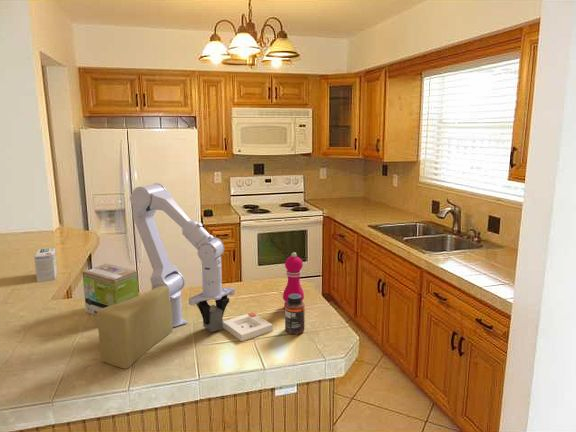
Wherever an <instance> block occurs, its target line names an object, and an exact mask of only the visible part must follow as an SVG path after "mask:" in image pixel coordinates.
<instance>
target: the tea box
mask: <svg viewBox="0 0 576 432" xmlns="http://www.w3.org/2000/svg"><path fill="white" fill-rule="evenodd" d="M81 274H82V281H83V292H84V302H85V311H86V313H89V314H92V315H95V316H97V311H98V310H100V309H102V308H105V307H108V306H111V305H114V304H118V303H121V302H124V301H127V300H129V299H132V298H134V297H137V296H139V295H140V294H139V280H138V279H139V278H138V271H137V270H135V269H131V268H130V269H129V268H127V267H126V268H125V267H122V266H118V265H114V264H109V263H104V264H101V265H99V266H96V267H93V268H91V269H87V270H84V271H82V273H81Z"/></svg>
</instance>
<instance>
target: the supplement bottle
mask: <svg viewBox="0 0 576 432" xmlns="http://www.w3.org/2000/svg"><path fill="white" fill-rule="evenodd" d="M305 308H306V307H305V303H304V302H303V301H301V295H299V294H290V295H289V296H288V301H287V302H286V304H285V308H284V313H285V314H284V318H285V319H284V325H285V326H284V328H285V329H284V330H285V332H286V333H288V334H290V335H298V334H302V333H303V332H304V331H305V324H306V323H305V321H306V320H305V313H306V312H305Z"/></svg>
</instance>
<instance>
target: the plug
mask: <svg viewBox="0 0 576 432" xmlns="http://www.w3.org/2000/svg"><path fill="white" fill-rule="evenodd" d="M223 317H224V314H223V315H222V310H221V309H220V308H218V307H217V306H216V304H210V310H209V325H206V324H205V323H204V321H203V320H202V326H203V327H204V328H205V329H206V330H207V331H209V332H210V333H214V332H217V331H219V330H222V329H224V328H223V321H224V320H223Z"/></svg>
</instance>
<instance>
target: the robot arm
mask: <svg viewBox="0 0 576 432" xmlns="http://www.w3.org/2000/svg"><path fill="white" fill-rule="evenodd" d="M171 194H172V193H171V192H170V191H169V190H168V189H166V187H165V186H164V185H163V184H162V183H159V182H158V183H157V182H156V183H153V184H148V185H143V186H137V187H135V188H134V189H133V190H132V192H131V194H130V196H129V200H130V203H131V206H132V218H133V220H134V224H135V226H136V229H137V231H138V234H139V236H140V237H139V238H141V239H140V240H141V241H142V244H143V247H144V250H145V252H146V254H147V258H148V260H149V263H150V266H151V268H152V270H153V271H152V273H151V275H150V278H149V280H150V282H151V290H152V289H154V288H157V287H160V286H165V287H168V289H169V295H170V302H171V310H172V329H173V328H175V327H179V326H182V325H185V324H188V321H187V320H186V319H185V318H184V317H183V313H182V312H183V311H182V310H183V309H182V289H183V288H184V287H185V284H186V281H185V277H184V276H183V274H182V273H181V272H180V271H179V269H178V266H177V265H174V264H172V263H171V261H170V258H169V255H168V253H167V250H166V247H165V245H164V242H163V240H162V237H161V234H160V231H159V230H158V227H157V223H156V222H155V218H154V216H155V213H156V212H157V211H162V212H164V213H165V214H166V215H167V216H168V217H170V219H171V220H172V221H174V222H175V223H176V224H177V225H178V226H180V228H181V229H182V230H181V231H182V232H181V234H182V235H183V236H184V237H185V239H187V241H188V242H189V243H190V244H191V245H192V246H193V247H194V248H195V249H196V250H197V256H198V259H200V263H201V280H202V285H201V286H202V288H201V289H202V292H200V293H198V294H196V295H193V296H191V297H188V305H190V306H191V307H193V306H197V308H198V310H199V312H200V314H201V318H202V322H203V321H204V323H205V324H206V325H209V310H210V306H211V304H209V303H208V301H212V300H214V302H215V306H217V307H218V308H220V309H221V310H222V315H223V316H224V314H225V310H226V308H227V306H228V304H229V303H230V298H229V297H228V296H234V295H236V293H235V292H236V290H235V288H234V287H232V286H231V287H225V288H223V285H222V284H223V283H222V282H223V279H222V255H223V254H224V253H225V245H224V242H223V241H222V240H221V239H220V238H217V237H214V236H213V235H212V234H210V233H209V232H208V231H207V230H206V229H205V228H204V227H203V223H202V222H198V221H197V220H192V219H190V217H188V215H187V214H186V213H185V211H184V210H183V208H181V207H180V205H178V203H177V202H176V201H175V199H173V198H172V195H171Z"/></svg>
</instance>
